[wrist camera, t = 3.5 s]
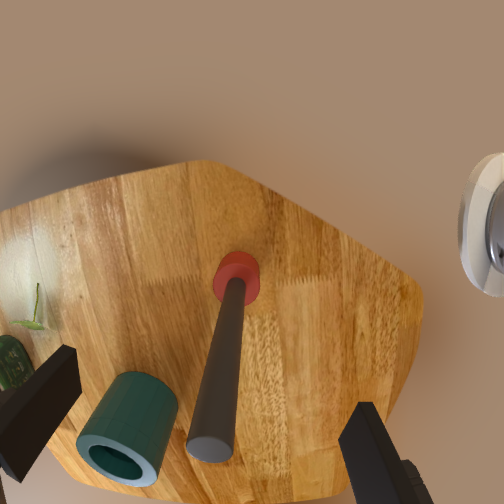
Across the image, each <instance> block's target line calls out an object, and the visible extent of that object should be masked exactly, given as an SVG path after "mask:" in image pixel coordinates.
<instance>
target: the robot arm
mask: <svg viewBox="0 0 504 504" xmlns="http://www.w3.org/2000/svg"><path fill="white" fill-rule="evenodd" d="M485 243H486V250H487V254H488V257H489V260H490V262H491V264H492V266H493V267H494V268H495V270H497V271H498V272H499V273H501V274H503V275H504V181H503V182H502V183H501V184H500V185H499V186H498V187H497V189H496V190H495V192H494V194H493V196H492V198H491V201H490V204H489V207H488V211H487V216H486V224H485ZM81 393H82V388H81V382H80V375H79V368H78V360H77V352H76V349H75V348H72V347H69V346H67V345H64V344H63V345H62V346H61V347H60V348H59V349H58V350H57V351H56V352H55V353H54V354H53V355H51V356H50V357H49V358H48V359H47V360H46V361H45V362H44V363H43V364H42V365H41V366H40V367H39V368H38V369H37V370H36V371H35V372H34V373H33V374H32V375H31V376H30V377H29V378H28V380H27V381H26V382H25V383H24V384H23V385H22V386H21V387H20V388H19V389H18V390H15V389H13V388H12V387H10V388H8V389H6V390H3V391H1V392H0V468H1V467H2V468H3V470H4V471H5V473H6V474H7V475H9V476H10V477H12V478H13V479H15V480H16V481H18V482H19V483H21V482H22V481H23V479H24V478H25V476H26V474H27V472H28V471H29V470H30V468H31V467H32V465H33V463H34V462H35V460H36V459H37V457H38V456H39V454H40V453H41V451H42V450H43V448H44V447H45V445H46V444H47V442H48V441H49V439H50V438H51V436H52V435H53V433H54V432H55V430H56V429H57V427H58V426H59V425H60V423H61V422H62V420H63V419H64V417H65V416H66V415H67V413H68V412H69V410H70V409H71V407H72V406H73V405H74V403H75V402H76V400H77V399H78V398H79V396H80V395H81ZM338 441H339V445H340V448H341V451H342V455H343V458H344V461H345V465H346V468H347V471H348V475H349V478H350V482H351V485H352V489H353V492H354V495H355V498H356V503H357V504H434V503H433V501H432V499H431V497H430V495H429V493H428V490H427V488H426V486H425V484H423V480H422V478H421V477H420V474H419V472H418V470H417V468H416V466H415V465H413V463H412V462H410V461H409V460H400V457H399V455H398V453H397V451H396V449H395V447H394V445H393V443H392V441H391V439H390V437H389V434H388V432H387V430H386V428H385V426H384V424H383V422H382V420H381V418H380V416H379V414H378V412H377V410H376V408H375V406H374V404H373V402H358V404H357V406H356V408H355V410H354V412H353V413H352V415H351V417H350V419H349V421H348V423H347V425H346V426H345V428H344V430H343V432H342V433H341V435H340V437H339V439H338ZM0 504H7V503H6V499H5V495H4V490H3V486H2V481H1V476H0Z"/></svg>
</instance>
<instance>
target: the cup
mask: <svg viewBox="0 0 504 504" xmlns="http://www.w3.org/2000/svg"><path fill="white" fill-rule="evenodd" d="M177 411H178V403H177V399H176V397H175V395H174V394H173V392H172V391H171V390H170V389H169V387H168V386H166V385H165V384H164V383H163V382H161V381H160V380H158V379H157V378H155V377H153V376H151V375H148V374H145V373H141V372H125V373H122V374H120V375H119V376H117V377H116V379H115V380H114V382H112V384H111V385H110V387H109V389H108V390H107V392H106V393H105V395H104V396H103V398H102V399H101V401H100V403H99V404H98V406H97V407H96V409H95V410H94V412H93V414H92V415H91V417H90V418H89V420H88V422H87V423H86V425H85V426H84V428H83V430H82V431H81V433H80V435H79V436H78V438H77V441H76V447H77V450H78V452H79V454H80V455H81V457H82V458H83V459H84V461H85V462H87V463H88V464H89V465H90V466H91V467H92V468H93V469H95V470H96V471H97V472H99V473H100V474H102V475H104V476H105V477H107V478H109V479H111V480H114V481H116V482H119V483H122V484H125V485H130V486H135V487H146V486H149V485H152V484H154V483H155V481H156V480H157V478H158V475H159V472H160V468H161V465H162V461H163V458H164V455H165V451H166V448H167V445H168V442H169V438H170V435H171V432H172V428H173V425H174V422H175V419H176V414H177Z"/></svg>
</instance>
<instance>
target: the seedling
mask: <svg viewBox="0 0 504 504" xmlns="http://www.w3.org/2000/svg"><path fill="white" fill-rule="evenodd" d="M38 285H39V283H37V301H36V306H35V311H34V320H33V321H27V320H25V321H13V322H9V323H12V324H21V325H22V326H24V327H27V328H29V329H33V330H44V328H43V327H44V326H43V327H42V324H39V323H36V322H34V321H35V314H36V307H37V303H38ZM38 324H39V325H38ZM40 325H41V326H40ZM45 328H46V327H45ZM56 333H57V332H56Z"/></svg>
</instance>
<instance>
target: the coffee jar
mask: <svg viewBox="0 0 504 504" xmlns="http://www.w3.org/2000/svg"><path fill="white" fill-rule="evenodd" d="M33 373H34V369H33V366H32V364H31V362H30V360H29V358H28V355H27V353H26V351H25V349H24V347H23V346H22V344H21V343H20V342H19V341H18V340H17V339H16V338H14V337H12V336H10V335H2V336H0V392H1V391H3V390H6V389H8V388H10V387H12V388H13V389H15V390H18V389H19V388H20V387H21V386H22V385H23V384H24V383H25V382H26V381H27V380H28V378H29V377H30V376H31V375H32V374H33Z"/></svg>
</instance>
